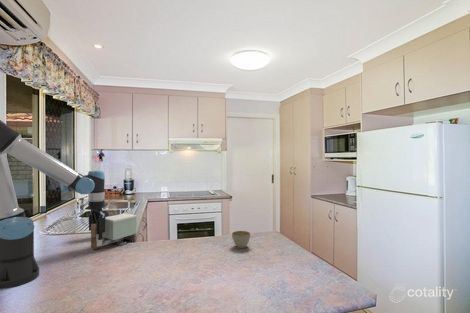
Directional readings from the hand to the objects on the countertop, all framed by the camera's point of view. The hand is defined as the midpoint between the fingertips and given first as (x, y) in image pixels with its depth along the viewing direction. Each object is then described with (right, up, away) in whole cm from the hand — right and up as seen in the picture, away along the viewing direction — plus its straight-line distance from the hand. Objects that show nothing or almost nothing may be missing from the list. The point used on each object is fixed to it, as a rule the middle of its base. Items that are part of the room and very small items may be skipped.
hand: (96, 244), depth 138 cm
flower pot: (+76, -2, +3) cm, 76 cm away
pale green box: (+8, -2, +9) cm, 12 cm away
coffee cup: (-8, -2, +19) cm, 21 cm away
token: (+10, -2, +8) cm, 13 cm away
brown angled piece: (+4, -1, +5) cm, 7 cm away
